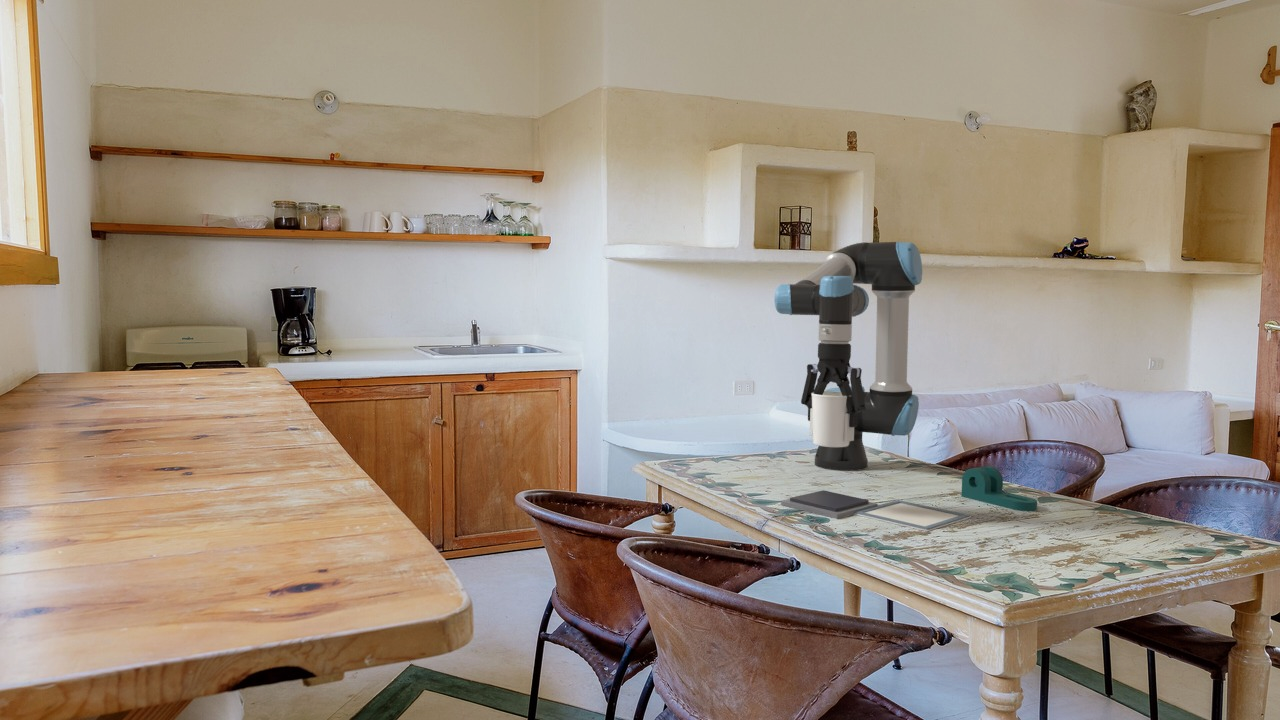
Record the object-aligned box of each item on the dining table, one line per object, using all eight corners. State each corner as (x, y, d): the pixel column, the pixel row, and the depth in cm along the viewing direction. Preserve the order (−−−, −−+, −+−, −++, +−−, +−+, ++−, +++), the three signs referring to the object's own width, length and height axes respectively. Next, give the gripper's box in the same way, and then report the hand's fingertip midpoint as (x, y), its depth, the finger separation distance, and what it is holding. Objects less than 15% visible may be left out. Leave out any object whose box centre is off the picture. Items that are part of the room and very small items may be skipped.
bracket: (961, 497, 222) (962, 466, 222) (979, 494, 226) (980, 464, 225) (1024, 513, 207) (1026, 480, 206) (1042, 510, 210) (1044, 477, 210)
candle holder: (849, 441, 212) (851, 391, 211) (855, 448, 203) (857, 396, 202) (807, 440, 213) (809, 390, 212) (811, 447, 204) (813, 395, 203)
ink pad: (821, 495, 220) (822, 488, 220) (877, 507, 209) (877, 500, 208) (780, 505, 210) (780, 497, 210) (836, 518, 198) (837, 510, 198)
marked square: (897, 501, 215) (897, 499, 215) (971, 517, 201) (971, 515, 201) (852, 513, 203) (852, 511, 203) (927, 531, 189) (927, 529, 189)
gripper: (787, 340, 212) (784, 433, 214) (865, 345, 196) (861, 446, 197) (806, 339, 217) (803, 430, 219) (884, 344, 201) (880, 442, 202)
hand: (831, 438), depth 208 cm, fingers closed on candle holder, 9 cm apart
